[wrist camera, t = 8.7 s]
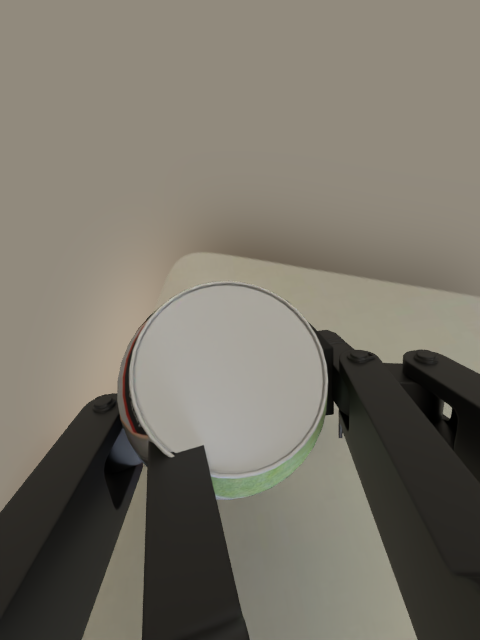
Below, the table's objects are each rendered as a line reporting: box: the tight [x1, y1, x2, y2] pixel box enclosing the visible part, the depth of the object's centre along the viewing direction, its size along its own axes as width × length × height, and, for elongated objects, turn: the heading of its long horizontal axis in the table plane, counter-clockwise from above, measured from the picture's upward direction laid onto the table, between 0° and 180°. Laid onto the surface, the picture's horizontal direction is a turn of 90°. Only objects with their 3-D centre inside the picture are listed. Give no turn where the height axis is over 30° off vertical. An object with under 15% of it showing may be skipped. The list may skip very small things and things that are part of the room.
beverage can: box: [117, 281, 328, 500], centre depth 12 cm, size 6×7×12 cm
